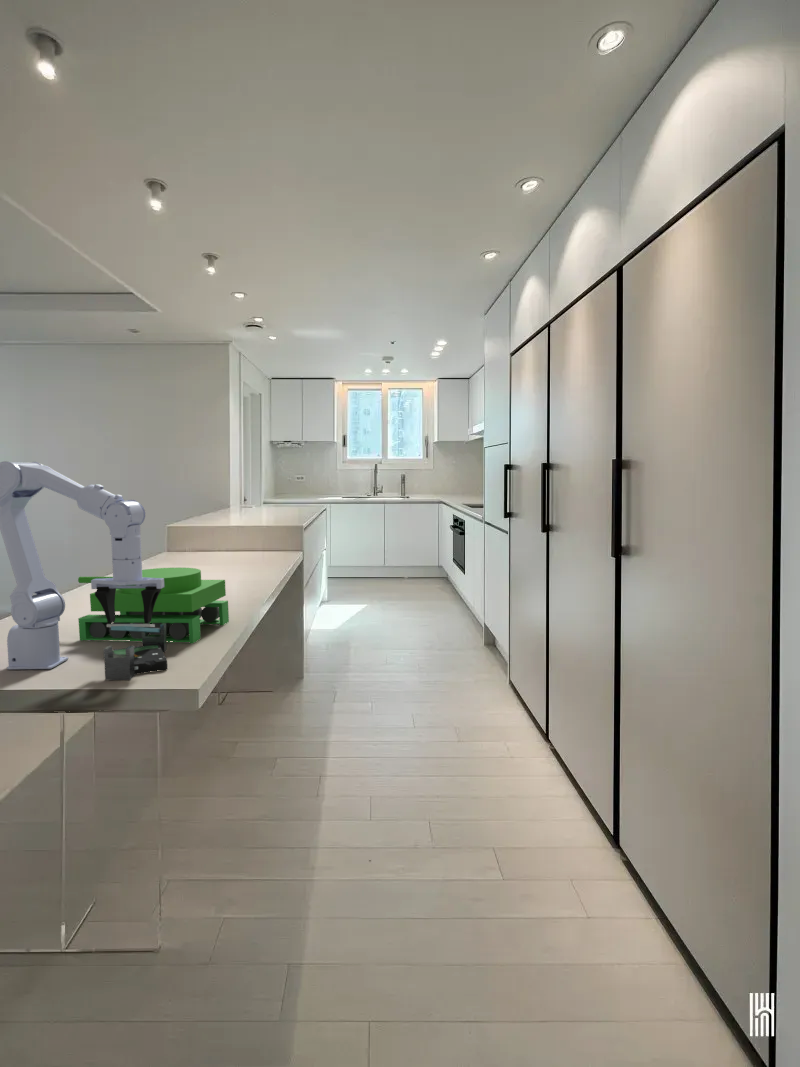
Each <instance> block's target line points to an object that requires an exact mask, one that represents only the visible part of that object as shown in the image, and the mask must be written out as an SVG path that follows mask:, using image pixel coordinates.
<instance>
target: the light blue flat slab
mask: <svg viewBox="0 0 800 1067" xmlns="http://www.w3.org/2000/svg"><path fill="white" fill-rule="evenodd" d="M107 627H111V630H116V631H133V632H147V633H161V628H144V627H155V624H132V623H131V624H112V623H111V624H107Z"/></svg>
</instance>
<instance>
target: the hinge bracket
mask: <svg viewBox="0 0 800 1067" xmlns="http://www.w3.org/2000/svg"><path fill="white" fill-rule="evenodd" d="M143 624H147V623H143ZM144 628H147V627H144ZM160 628H161V635H150V634H149V635H148V633H147V632H142V642H141V643H142V645H141V646H146V645H156V644H159V645H160V647H161V649H162V651H163V653H166V652H167V651H166V650H168V648H167V643H168V642H166V635H167V632H166V623H162V624H160ZM167 636H168V635H167ZM165 651H166V652H165Z"/></svg>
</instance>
